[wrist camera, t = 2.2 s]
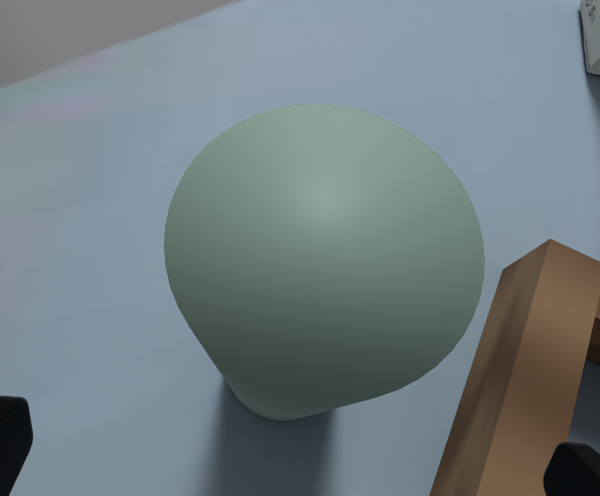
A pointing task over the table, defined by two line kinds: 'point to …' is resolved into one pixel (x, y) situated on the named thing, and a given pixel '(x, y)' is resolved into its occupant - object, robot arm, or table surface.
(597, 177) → the table surface
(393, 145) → the sage peg
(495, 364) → the square wooden frame
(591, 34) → the skincare box
